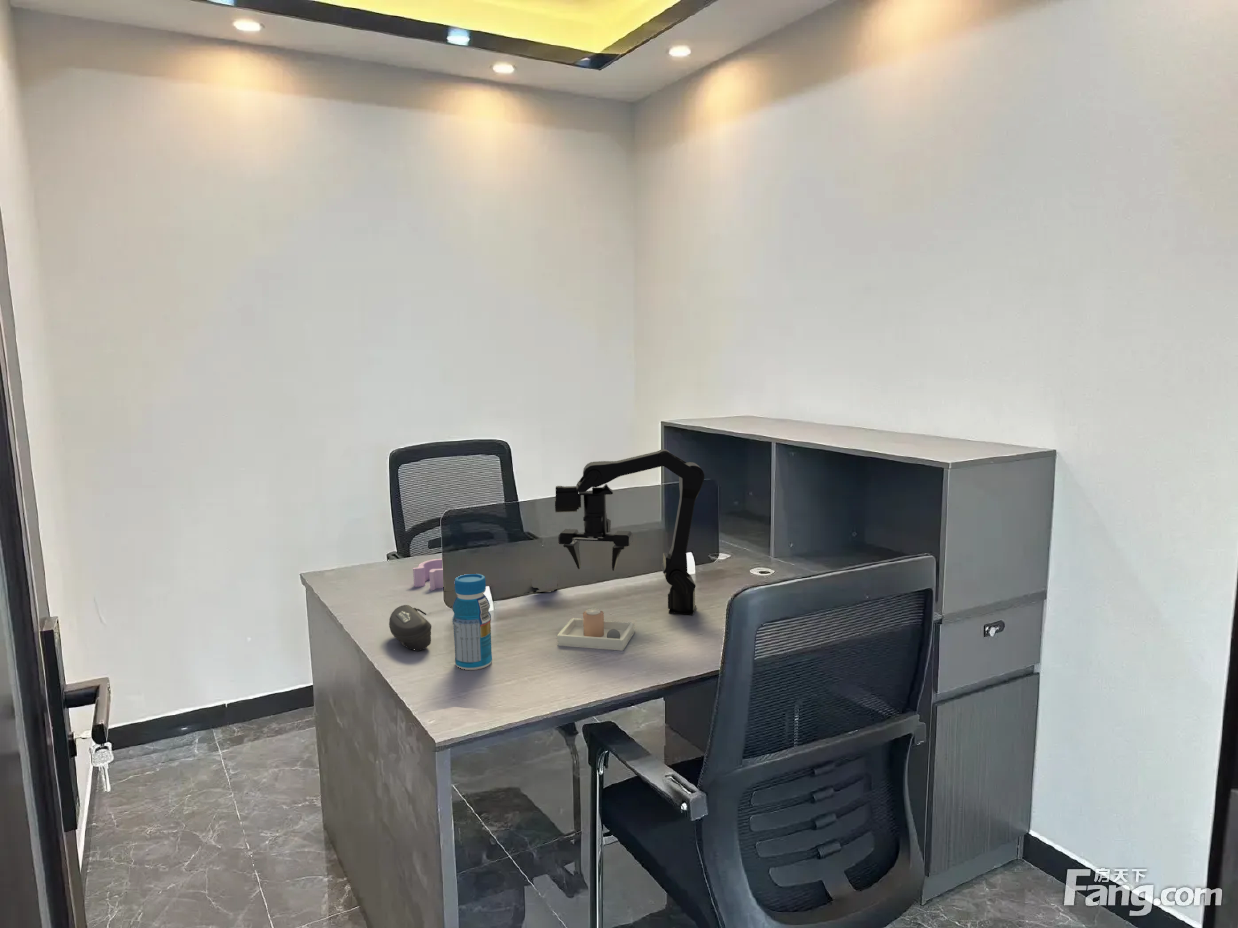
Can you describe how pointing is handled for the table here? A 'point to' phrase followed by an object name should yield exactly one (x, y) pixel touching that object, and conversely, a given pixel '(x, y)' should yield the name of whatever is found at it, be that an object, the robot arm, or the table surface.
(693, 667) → the table surface
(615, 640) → the tray
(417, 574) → the clip
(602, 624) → the cylinder
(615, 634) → the ball
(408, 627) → the glasses case
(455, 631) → the beverage bottle
